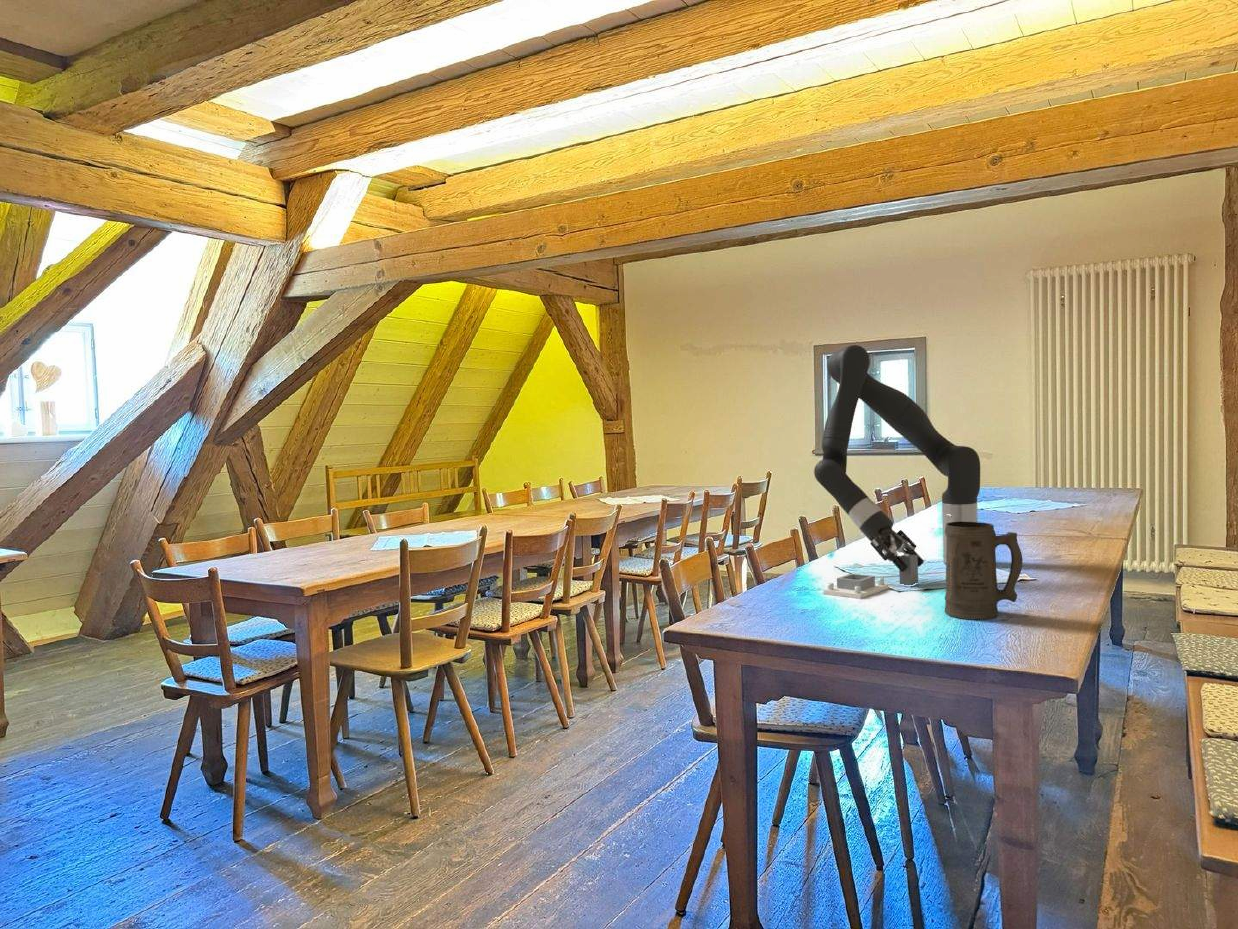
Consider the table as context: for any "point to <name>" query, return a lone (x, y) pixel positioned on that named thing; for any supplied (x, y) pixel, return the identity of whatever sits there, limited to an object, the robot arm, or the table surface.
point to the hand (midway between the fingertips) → (913, 567)
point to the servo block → (909, 570)
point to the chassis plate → (856, 586)
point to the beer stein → (977, 570)
